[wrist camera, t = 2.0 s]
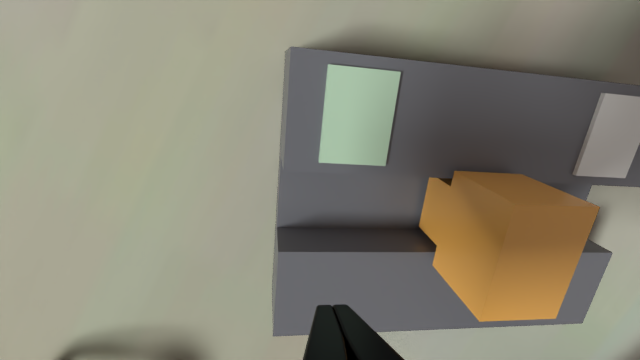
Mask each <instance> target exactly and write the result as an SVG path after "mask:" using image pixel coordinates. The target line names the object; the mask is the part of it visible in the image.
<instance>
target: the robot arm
mask: <svg viewBox="0 0 640 360" xmlns="http://www.w3.org/2000/svg"><path fill="white" fill-rule="evenodd" d="M303 360H404V359H403V358H402V357H401V356H400V355H399V354H398V353H397V352H396V351H395V350H394V349H393V348H392V347H391V346H390V345H389V344H388V343H386V342H385V341H384V340H383V339H382V338H381V337H380V336H379V335H378V334H377V333H376V332H375V331H374V330H373V329H372V328H371V327H370V326H369V325H368V324H367V323H366V322H365V321H364V320H363V319H362V318H361V317H360V316H359V315H358V314H357V313H356V312H355V311H353V310H352V309H351V308H350V307H349V306H348V305H346V304H335V305H333V306H331V305H317V307H316V310H315V314H314V318H313V322H312V326H311V329H310V333H309V337H308V341H307V345H306V349H305V353H304V357H303Z"/></svg>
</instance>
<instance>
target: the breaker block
mask: <svg viewBox="0 0 640 360" xmlns="http://www.w3.org/2000/svg"><path fill="white" fill-rule="evenodd" d="M454 171H470V172H490V173H510V174H523V175H525V176H527V177H530V178H532V179H534V180H537V181H539V182H542V183H544V184H546V185H549V186H551V187H553V188H556V189H558V190H561V191H563V192H565V193H568V194H570V195H573V196H575V197H577V198H580V199H582V200H584V201H586V199H587V197H588V194H589V191H590V189H591V186H592V185H606V186H628V187H640V86H639V85H630V84H621V83H612V82H603V81H594V80H585V79H577V78H568V77H559V76H550V75H541V74H532V73H523V72H514V71H505V70H496V69H487V68H478V67H469V66H460V65H451V64H442V63H433V62H424V61H415V60H407V59H398V58H389V57H380V56H371V55H362V54H353V53H344V52H335V51H326V50H317V49H308V48H299V47H290V48H289V49H288V50H286V51H285V68H284V86H283V103H282V121H281V139H280V156H279V174H278V191H277V209H276V227H275V244H274V262H273V279H272V311H273V336H293V335H309V333H310V329H311V326H312V322H313V318H314V314H315V310H316V307H317V305H331V306H333V305H335V304H346V305H348V306H349V307H350V308H351V309H352V310H353V311H355V312H356V313H357V314H358V315H359V316H360V317H361V318H362V319H363V320H364V321H365V322H366V323H367V324H368V325H369V326H370V327H371V328H372V329H373V330H374V331H375V332H388V331H412V330H435V329H459V328H483V327H506V326H530V325H554V324H577V323H583V321H584V318H585V316H586V314H587V311H588V309H589V307H590V304H591V302H592V300H593V297H594V295H595V293H596V290H597V288H598V286H599V283H600V281H601V279H602V276H603V274H604V272H605V269H606V267H607V265H608V262H609V260H610V258H611V255H612V252H610V251H609V250H607V249H605V248H603V247H601V246H599V245H597V244H595V243H594V242H592V241H590V240H588V239H587V241H586V244H585V246H584V249H583V251H582V254H581V256H580V259H579V261H578V264H577V266H576V269H575V271H574V274H573V277H572V279H571V282H570V284H569V287H568V289H567V292H566V294H565V297H564V299H563V302H562V304H561V307H560V309H559V312H558V314H557V317H556V319H535V320H509V321H484V322H479V321H478V319H477V318H476V317H475V316H474V315H473V313H472V312H471V311H470V310H469V309H468V307H467V306H466V305H465V304H464V303H463V301H462V300H461V299H460V298H459V297H458V295H457V294H456V293H455V292H454V291H453V289H452V288H451V287H450V286H449V285H448V283H447V282H446V281H445V280H444V279H443V277H442V276H441V275H440V274H439V273H438V271H437V270H436V269H435V268H434V267H433V265H432V264H433V260H434V256H435V252H436V247H437V245H436V244H435V243H434V242H433V241H432V240H431V239H430V238H429V237H428V236H427V235H426V234H425V233H424V232H423V230H422V229H421V228H420V227H419V223H420V218H421V214H422V209H423V204H424V199H425V195H426V190H427V185H428V180H429V177H430V178H452V179H453V175H454Z"/></svg>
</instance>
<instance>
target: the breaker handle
mask: <svg viewBox="0 0 640 360" xmlns="http://www.w3.org/2000/svg"><path fill="white" fill-rule="evenodd" d="M599 208H600V207H599V206H596V205H594V204H592V203H589V202H587V201H584V200H582V199H580V198H577V197H575V196H573V195H570V194H568V193H565V192H563V191H561V190H558V189H556V188H553V187H551V186H549V185H546V184H544V183H542V182H539V181H537V180H534V179H532V178H530V177H527V176H525V175H523V174H510V173H490V172H470V171H454V175H453V179H452V178H430V177H429V180H428V185H427V190H426V195H425V199H424V204H423V209H422V214H421V218H420V223H419V227H420V228H421V229H422V230H423V232H424V233H425V234H426V235H427V236H428V237H429V238H430V239H431V240H432V241H433V242H434V243H435V244H436V245H437V247H436V252H435V256H434V260H433V264H432V265H433V267H434V268H435V269H436V270H437V271H438V273H439V274H440V275H441V276H442V277H443V279H444V280H445V281H446V282H447V283H448V285H449V286H450V287H451V288H452V289H453V291H454V292H455V293H456V294H457V295H458V297H459V298H460V299H461V300H462V301H463V303H464V304H465V305H466V306H467V307H468V309H469V310H470V311H471V312H472V313H473V315H474V316H475V317H476V318H477V319H478V321H479V322H484V321H509V320H535V319H556V317H557V314H558V312H559V309H560V307H561V304H562V302H563V299H564V297H565V294H566V292H567V289H568V287H569V284H570V282H571V279H572V277H573V274H574V271H575V269H576V266H577V264H578V261H579V259H580V256H581V254H582V251H583V249H584V246H585V244H586V241H587V239H588V236H589V234H590V231H591V229H592V226H593V223H594V221H595V218H596V216H597V213H598V211H599Z"/></svg>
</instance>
